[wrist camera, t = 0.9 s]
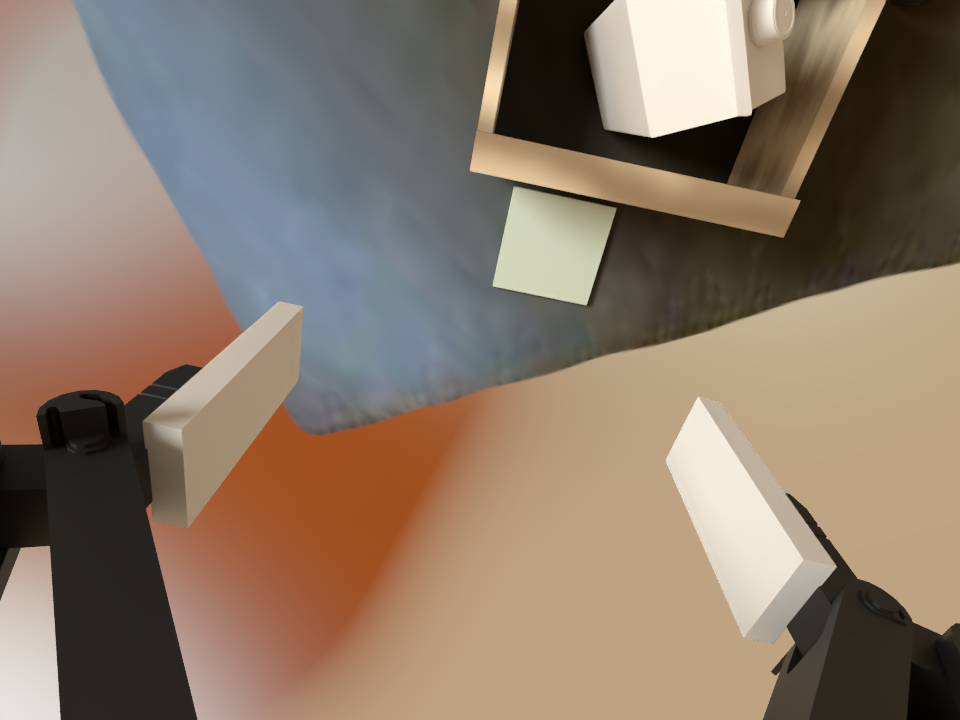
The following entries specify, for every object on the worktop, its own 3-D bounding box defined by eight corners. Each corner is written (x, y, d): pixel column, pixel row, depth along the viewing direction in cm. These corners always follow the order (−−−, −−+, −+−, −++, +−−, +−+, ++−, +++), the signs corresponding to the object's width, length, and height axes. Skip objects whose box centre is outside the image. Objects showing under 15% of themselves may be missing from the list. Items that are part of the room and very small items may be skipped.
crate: (527, -118, 34) (534, -198, 26) (832, -45, 35) (940, -98, 26) (477, 158, 42) (469, 170, 34) (727, 212, 43) (783, 237, 34)
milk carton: (603, 130, 41) (671, 142, 24) (582, 32, 38) (643, -33, 21) (692, 98, 40) (832, 87, 23) (678, -6, 37) (825, -108, 20)
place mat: (514, 185, 43) (514, 186, 43) (615, 207, 43) (616, 208, 43) (492, 284, 47) (492, 286, 47) (585, 303, 47) (586, 305, 47)
